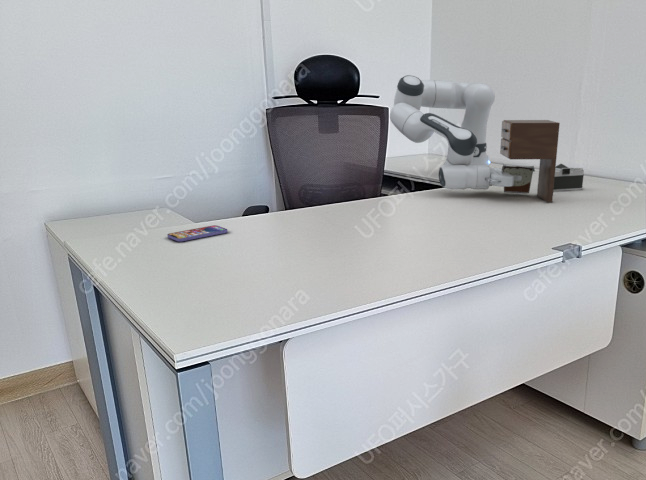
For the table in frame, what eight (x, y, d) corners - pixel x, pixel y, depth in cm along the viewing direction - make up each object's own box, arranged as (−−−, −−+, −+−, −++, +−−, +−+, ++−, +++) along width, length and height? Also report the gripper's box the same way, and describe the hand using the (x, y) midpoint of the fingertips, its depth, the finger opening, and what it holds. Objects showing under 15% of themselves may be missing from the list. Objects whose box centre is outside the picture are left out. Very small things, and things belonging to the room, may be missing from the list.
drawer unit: (495, 195, 221) (499, 120, 211) (541, 195, 221) (547, 120, 212) (503, 203, 207) (508, 122, 198) (552, 202, 208) (559, 122, 199)
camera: (573, 186, 240) (575, 160, 237) (585, 189, 233) (588, 163, 229) (538, 188, 236) (540, 162, 232) (550, 191, 228) (552, 165, 225)
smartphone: (229, 232, 167) (179, 242, 157) (215, 227, 172) (166, 237, 162) (229, 229, 167) (178, 239, 156) (215, 224, 171) (165, 233, 161)
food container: (528, 194, 225) (530, 167, 224) (533, 193, 219) (535, 165, 218) (496, 192, 224) (498, 165, 223) (500, 191, 218) (502, 163, 217)
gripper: (489, 172, 206) (528, 172, 207) (479, 164, 226) (515, 164, 226) (488, 190, 209) (526, 190, 209) (478, 181, 228) (513, 181, 228)
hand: (520, 177), depth 218 cm, fingers closed on food container
